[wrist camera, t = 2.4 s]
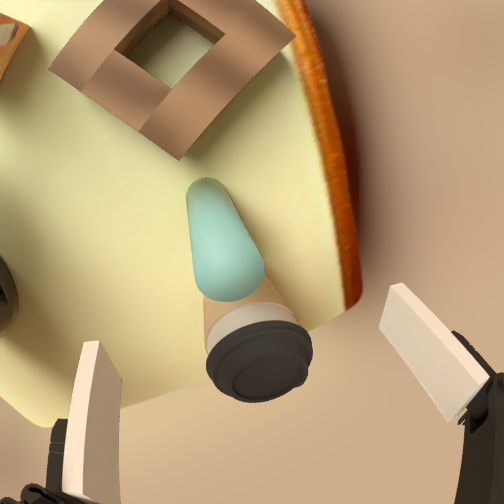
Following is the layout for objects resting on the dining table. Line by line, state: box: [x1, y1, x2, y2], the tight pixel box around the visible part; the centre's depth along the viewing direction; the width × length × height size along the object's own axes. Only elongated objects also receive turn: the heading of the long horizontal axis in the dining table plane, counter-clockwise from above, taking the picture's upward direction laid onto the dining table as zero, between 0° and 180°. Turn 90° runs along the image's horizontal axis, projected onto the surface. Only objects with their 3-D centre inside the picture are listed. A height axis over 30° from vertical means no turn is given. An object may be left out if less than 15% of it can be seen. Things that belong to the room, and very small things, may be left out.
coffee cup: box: [203, 273, 313, 403], centre depth 27 cm, size 9×9×15 cm
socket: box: [48, 0, 296, 161], centre depth 18 cm, size 14×14×5 cm
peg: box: [186, 178, 265, 302], centre depth 22 cm, size 4×4×14 cm
